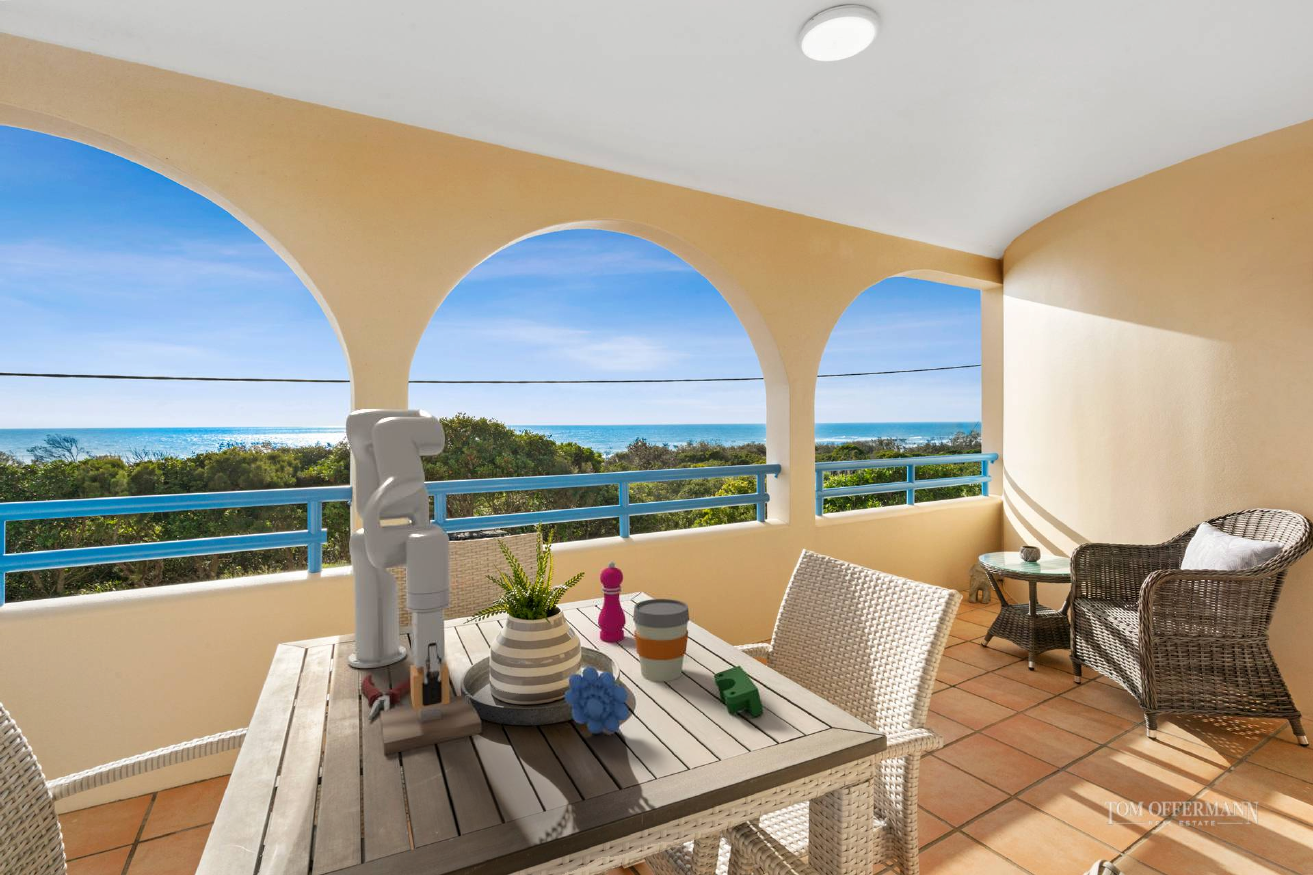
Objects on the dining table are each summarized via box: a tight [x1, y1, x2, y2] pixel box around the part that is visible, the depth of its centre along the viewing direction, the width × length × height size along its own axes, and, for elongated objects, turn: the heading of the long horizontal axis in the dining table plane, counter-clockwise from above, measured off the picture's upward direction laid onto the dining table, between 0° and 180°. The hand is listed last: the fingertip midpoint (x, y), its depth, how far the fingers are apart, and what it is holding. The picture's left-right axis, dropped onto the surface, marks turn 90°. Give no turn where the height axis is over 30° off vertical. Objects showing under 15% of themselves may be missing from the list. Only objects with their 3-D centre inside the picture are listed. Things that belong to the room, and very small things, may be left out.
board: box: [379, 693, 482, 756], centre depth 112 cm, size 13×16×6 cm
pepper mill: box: [597, 561, 627, 643], centre depth 159 cm, size 7×7×20 cm
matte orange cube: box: [409, 659, 450, 710], centre depth 112 cm, size 6×6×6 cm
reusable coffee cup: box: [632, 598, 690, 683], centre depth 136 cm, size 13×13×15 cm
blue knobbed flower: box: [564, 666, 630, 735], centre depth 109 cm, size 12×7×12 cm, turn 87°
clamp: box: [713, 665, 764, 718], centre depth 120 cm, size 12×6×9 cm, turn 4°
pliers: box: [360, 673, 411, 721], centre depth 124 cm, size 12×20×3 cm, turn 16°
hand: (429, 695), depth 112 cm, fingers closed on matte orange cube, 6 cm apart
